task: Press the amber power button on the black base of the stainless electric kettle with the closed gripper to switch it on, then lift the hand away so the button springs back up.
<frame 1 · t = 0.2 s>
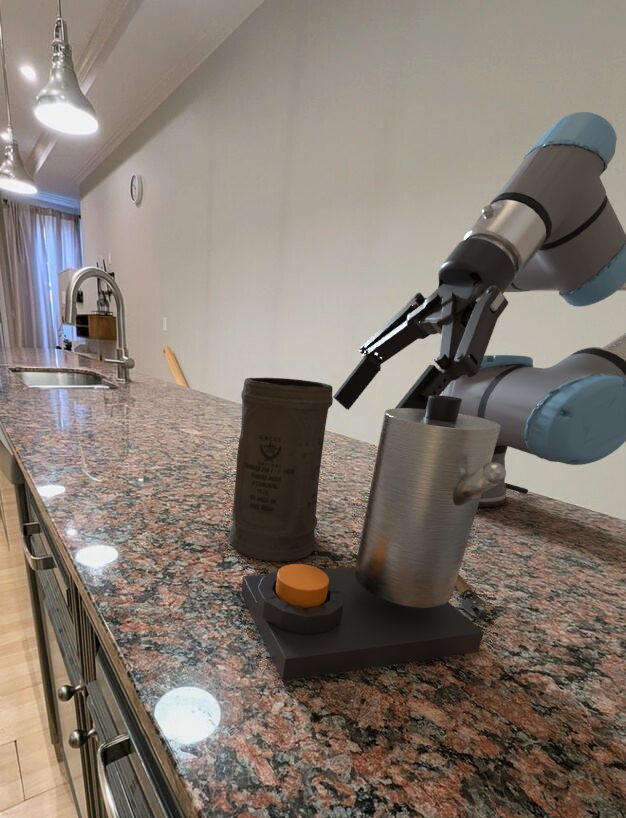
hand: (366, 412, 54), 16 cm above the table, tool tilted 35°, fingers open, 13 cm apart
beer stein: (274, 536, 58), on the table
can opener: (461, 597, 47), on the table
kettle: (401, 580, 41), resting on kettle base
kettle button: (302, 585, 38), point 5 cm above the table, slide at 0.1 cm
kettle base: (351, 621, 41), on the table
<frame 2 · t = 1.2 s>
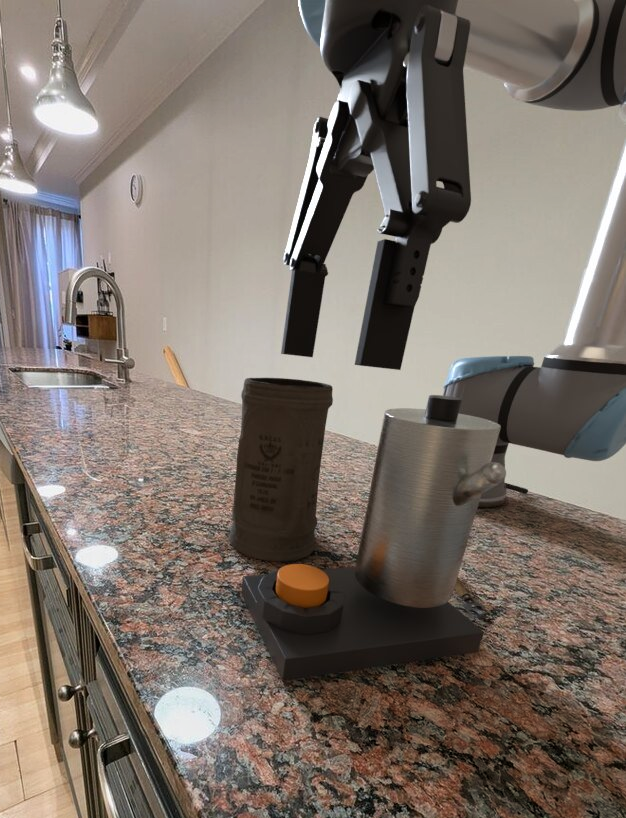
hand: (329, 361, 33), 23 cm above the table, tool pointing down, fingers open, 13 cm apart
nothing on the table moved.
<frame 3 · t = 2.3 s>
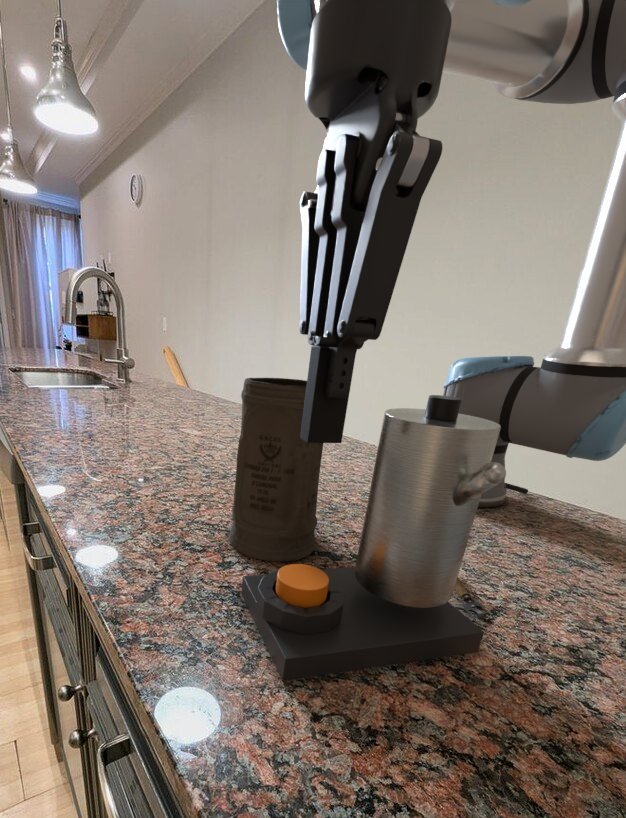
hand: (320, 440, 33), 17 cm above the table, tool pointing down, fingers closed
nothing on the table moved.
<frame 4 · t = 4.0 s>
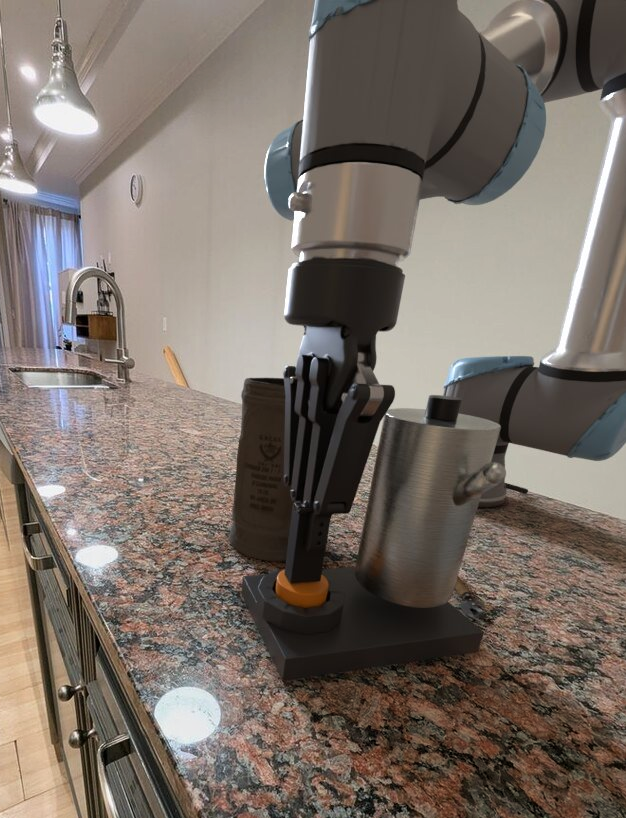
hand: (302, 577, 38), 5 cm above the table, tool pointing down, fingers closed
kettle button: (301, 588, 38), point 4 cm above the table, slide at -0.2 cm, touching gripper
everything else where it was.
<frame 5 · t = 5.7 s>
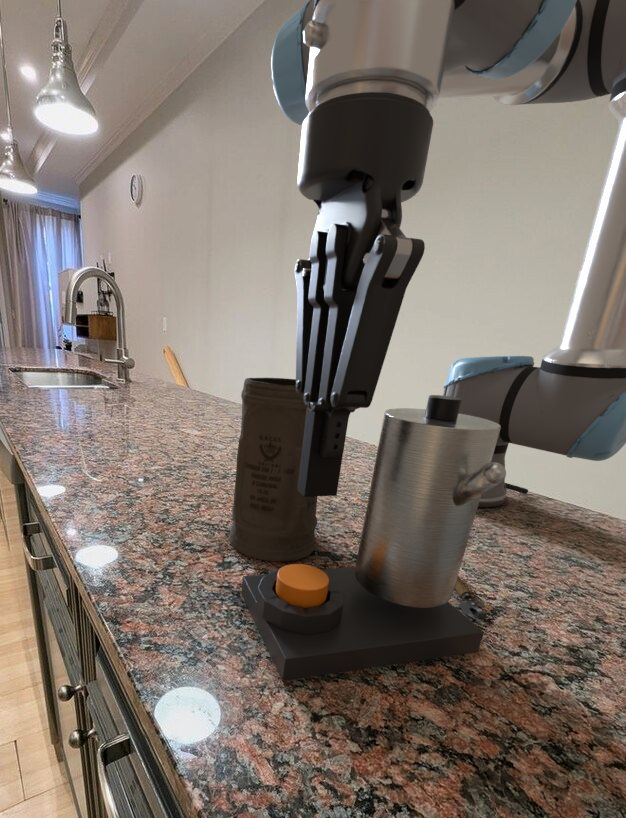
hand: (316, 492, 35), 13 cm above the table, tool pointing down, fingers closed
kettle button: (302, 585, 38), point 5 cm above the table, slide at 0.1 cm
everything else where it was.
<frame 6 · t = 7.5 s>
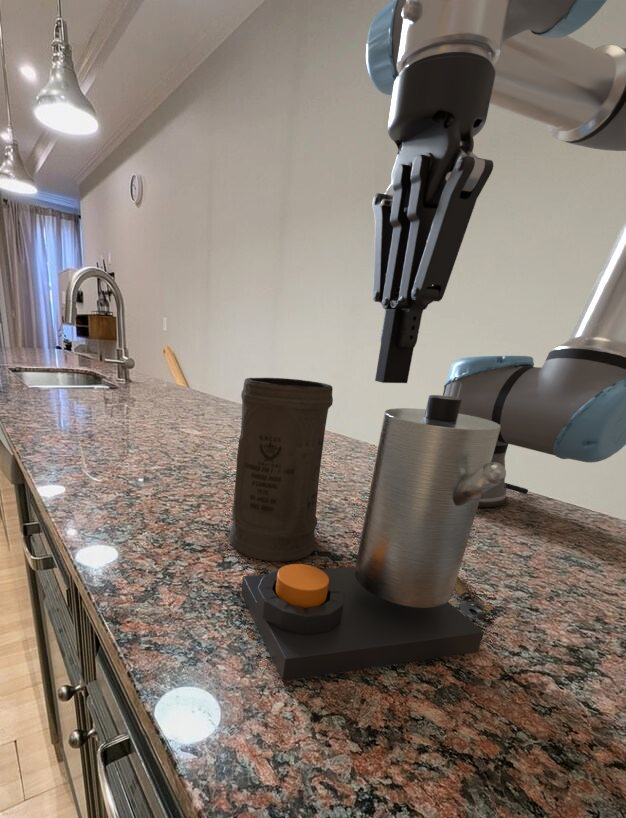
hand: (391, 381, 44), 21 cm above the table, tool pointing down, fingers closed
nothing on the table moved.
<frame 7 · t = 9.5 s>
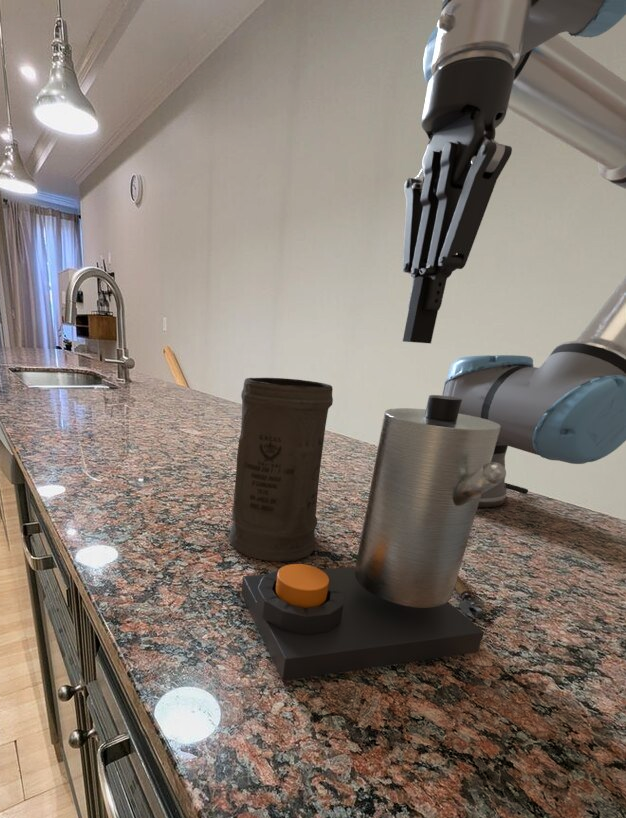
hand: (416, 342, 51), 24 cm above the table, tool pointing down, fingers closed
nothing on the table moved.
at the end: kettle button pushed in 1.0 cm at the most during the clip, back to where it started at the end; kettle button slide at 0.1 cm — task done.
